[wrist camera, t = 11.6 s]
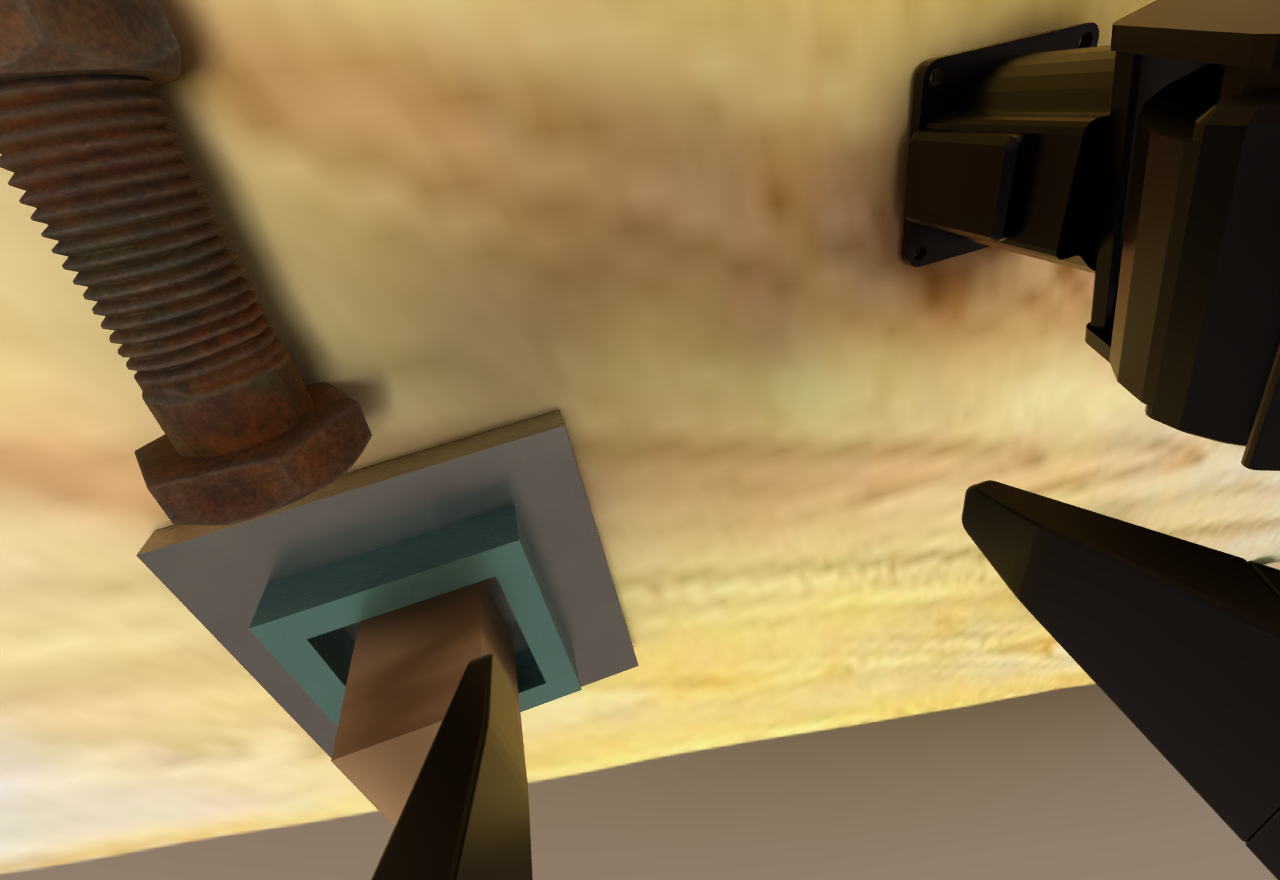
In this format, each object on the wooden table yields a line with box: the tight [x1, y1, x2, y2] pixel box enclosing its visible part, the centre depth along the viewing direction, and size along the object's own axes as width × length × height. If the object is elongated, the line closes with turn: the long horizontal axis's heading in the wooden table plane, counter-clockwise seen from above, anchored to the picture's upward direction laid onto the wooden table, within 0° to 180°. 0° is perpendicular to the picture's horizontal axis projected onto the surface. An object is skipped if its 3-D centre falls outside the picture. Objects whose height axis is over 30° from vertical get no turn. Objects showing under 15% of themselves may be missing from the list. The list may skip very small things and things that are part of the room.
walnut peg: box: [331, 580, 526, 827], centre depth 20 cm, size 4×4×6 cm
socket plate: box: [137, 410, 638, 758], centre depth 22 cm, size 14×14×3 cm
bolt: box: [0, 0, 372, 526], centre depth 12 cm, size 6×5×15 cm
